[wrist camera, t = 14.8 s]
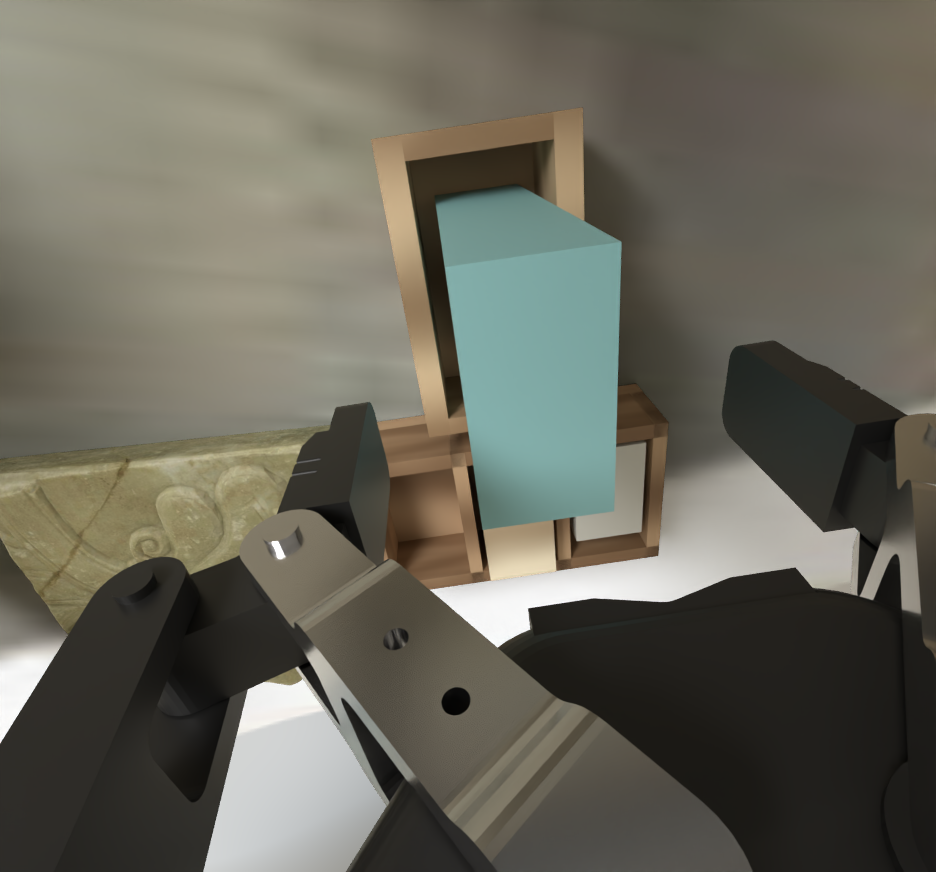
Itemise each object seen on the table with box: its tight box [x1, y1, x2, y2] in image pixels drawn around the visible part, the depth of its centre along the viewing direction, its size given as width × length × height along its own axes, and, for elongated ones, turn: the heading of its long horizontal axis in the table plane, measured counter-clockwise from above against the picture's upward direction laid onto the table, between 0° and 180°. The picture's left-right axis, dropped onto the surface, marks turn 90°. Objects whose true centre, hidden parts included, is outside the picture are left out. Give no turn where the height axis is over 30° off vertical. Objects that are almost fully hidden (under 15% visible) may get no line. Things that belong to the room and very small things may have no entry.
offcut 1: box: [483, 520, 556, 581], centre depth 28 cm, size 7×4×4 cm, turn 7°
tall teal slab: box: [434, 184, 621, 530], centre depth 18 cm, size 7×4×14 cm, turn 7°
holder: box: [371, 108, 584, 437], centre depth 23 cm, size 12×7×6 cm, turn 7°
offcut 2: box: [570, 440, 646, 541], centre depth 29 cm, size 6×4×4 cm, turn 7°
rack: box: [377, 384, 669, 590], centre depth 29 cm, size 9×16×4 cm, turn 97°
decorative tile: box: [0, 425, 330, 685], centre depth 32 cm, size 19×20×4 cm
